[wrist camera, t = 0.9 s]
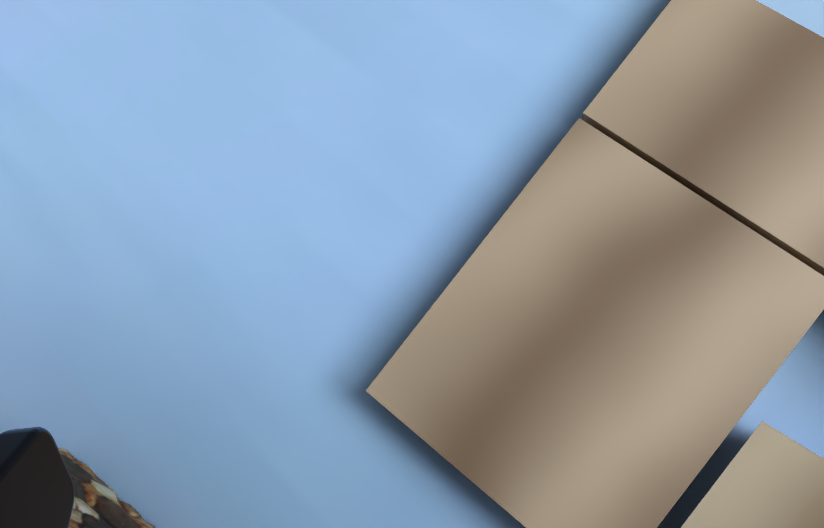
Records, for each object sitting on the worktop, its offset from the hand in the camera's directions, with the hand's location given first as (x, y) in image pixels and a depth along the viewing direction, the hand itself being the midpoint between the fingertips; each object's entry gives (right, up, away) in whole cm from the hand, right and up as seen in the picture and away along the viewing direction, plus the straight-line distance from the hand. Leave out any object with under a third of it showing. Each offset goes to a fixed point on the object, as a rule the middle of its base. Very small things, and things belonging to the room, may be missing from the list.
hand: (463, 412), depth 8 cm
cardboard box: (+7, +1, +16) cm, 18 cm away
